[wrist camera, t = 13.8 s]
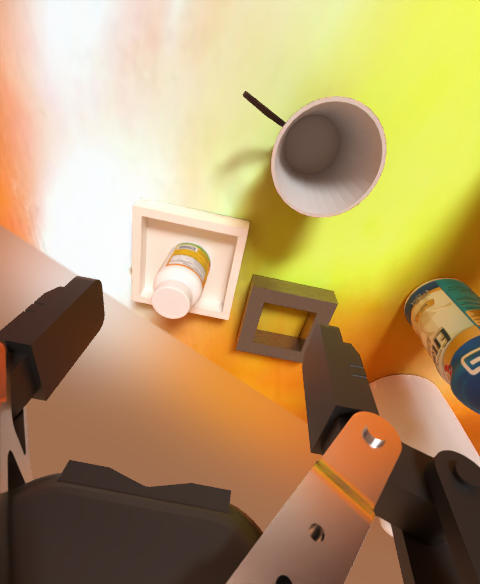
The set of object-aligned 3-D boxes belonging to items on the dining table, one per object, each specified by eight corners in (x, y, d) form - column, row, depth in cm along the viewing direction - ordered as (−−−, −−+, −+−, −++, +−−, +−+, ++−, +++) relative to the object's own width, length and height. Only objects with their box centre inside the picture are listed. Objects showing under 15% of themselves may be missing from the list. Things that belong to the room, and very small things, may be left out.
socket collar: (333, 291, 41) (337, 303, 39) (307, 350, 47) (310, 364, 45) (253, 274, 41) (252, 286, 38) (237, 336, 47) (235, 349, 44)
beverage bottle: (472, 316, 42) (610, 464, 25) (406, 333, 44) (493, 479, 27) (467, 265, 38) (629, 400, 21) (396, 287, 40) (490, 424, 23)
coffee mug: (365, 162, 33) (400, 185, 24) (290, 201, 35) (298, 234, 27) (323, 40, 28) (349, 16, 19) (240, 97, 30) (230, 98, 22)
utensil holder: (353, 432, 57) (384, 549, 43) (343, 378, 50) (376, 497, 35) (440, 423, 54) (505, 545, 39) (443, 363, 47) (524, 486, 32)
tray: (249, 221, 37) (248, 230, 34) (230, 307, 44) (228, 320, 41) (142, 197, 36) (132, 205, 34) (139, 288, 43) (131, 300, 41)
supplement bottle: (188, 284, 41) (168, 332, 33) (160, 254, 39) (132, 297, 31) (219, 265, 39) (207, 310, 31) (192, 232, 37) (172, 271, 29)
